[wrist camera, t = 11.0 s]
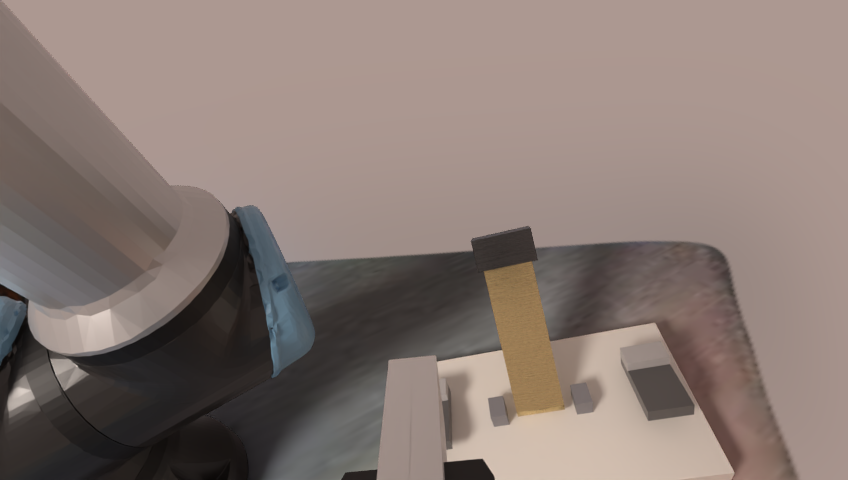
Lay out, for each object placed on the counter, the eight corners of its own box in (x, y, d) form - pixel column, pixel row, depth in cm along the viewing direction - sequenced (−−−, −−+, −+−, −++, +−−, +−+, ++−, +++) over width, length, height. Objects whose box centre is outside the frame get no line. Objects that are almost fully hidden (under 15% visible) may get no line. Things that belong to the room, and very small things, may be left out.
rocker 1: (414, 454, 33) (407, 440, 32) (417, 397, 37) (411, 383, 36) (452, 449, 32) (446, 434, 31) (450, 391, 37) (445, 377, 36)
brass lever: (513, 423, 33) (471, 241, 32) (512, 410, 35) (472, 238, 34) (572, 414, 32) (530, 227, 31) (567, 401, 34) (527, 226, 33)
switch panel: (414, 520, 32) (399, 505, 30) (414, 377, 41) (402, 357, 39) (729, 484, 29) (739, 463, 26) (653, 336, 38) (656, 310, 35)
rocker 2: (648, 421, 30) (647, 404, 29) (620, 363, 34) (619, 347, 33) (694, 414, 29) (695, 397, 28) (660, 357, 34) (660, 340, 33)
